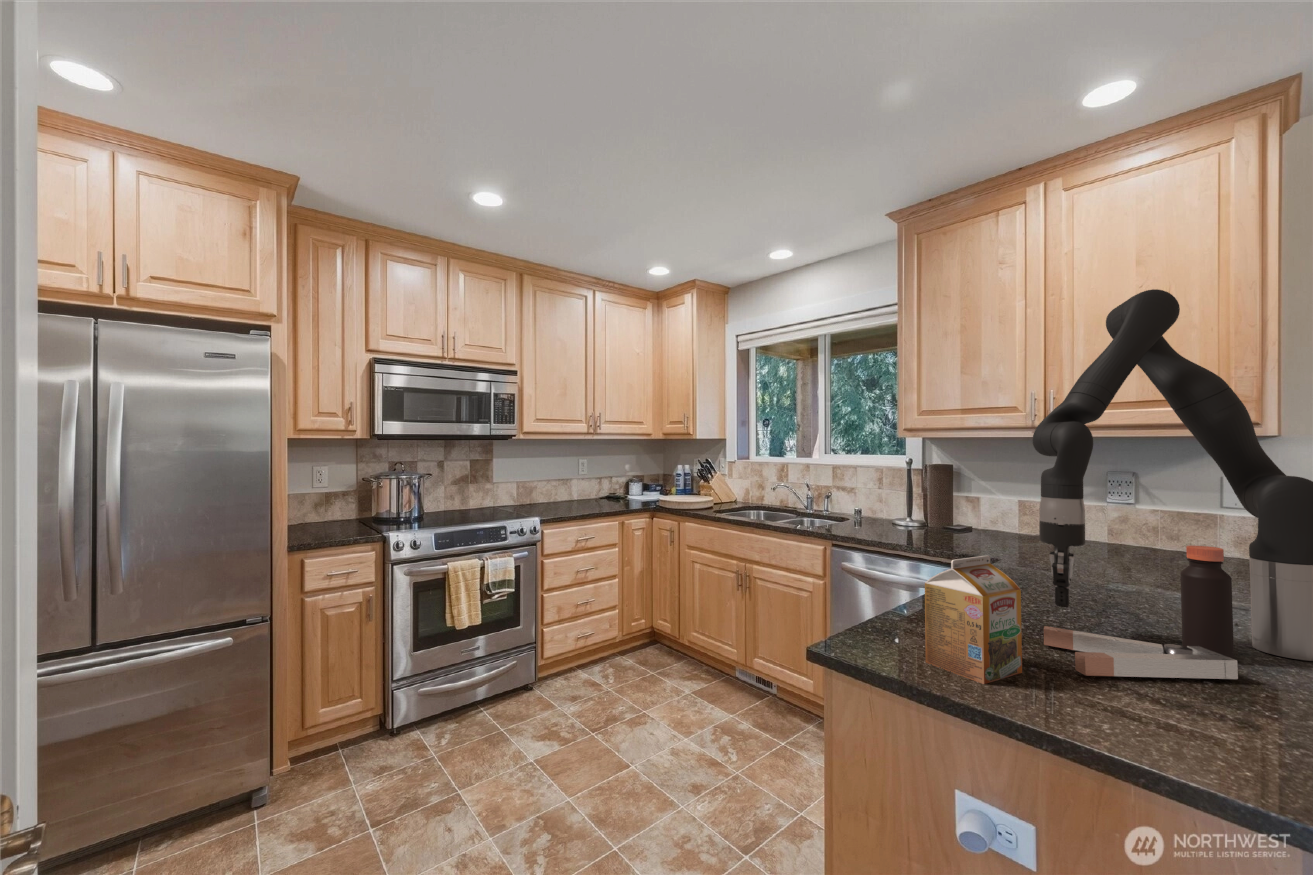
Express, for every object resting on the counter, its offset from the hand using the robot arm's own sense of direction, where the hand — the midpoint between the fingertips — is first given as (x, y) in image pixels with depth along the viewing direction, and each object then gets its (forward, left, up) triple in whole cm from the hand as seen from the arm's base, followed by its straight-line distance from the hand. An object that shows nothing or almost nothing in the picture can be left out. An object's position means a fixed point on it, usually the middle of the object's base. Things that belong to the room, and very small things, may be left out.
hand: (1062, 605), depth 112 cm
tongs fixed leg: (-2, +18, -6) cm, 19 cm away
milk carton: (+26, +17, -7) cm, 32 cm away
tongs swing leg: (-2, +11, -6) cm, 13 cm away
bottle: (-20, +9, -7) cm, 23 cm away
